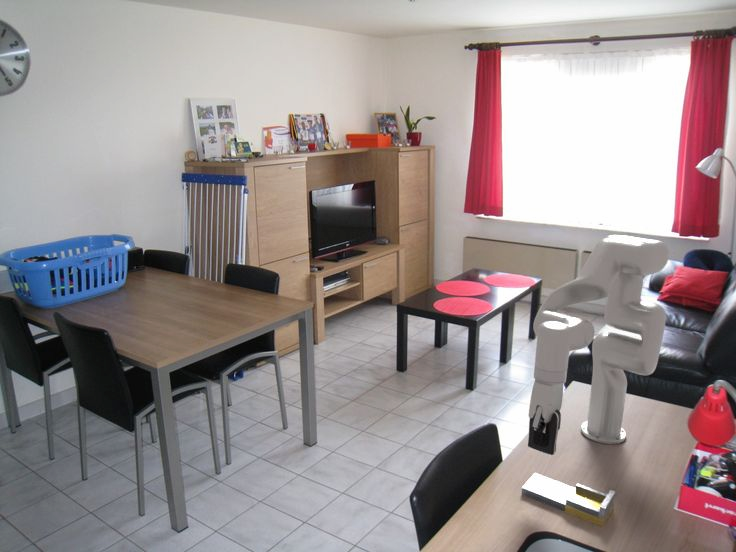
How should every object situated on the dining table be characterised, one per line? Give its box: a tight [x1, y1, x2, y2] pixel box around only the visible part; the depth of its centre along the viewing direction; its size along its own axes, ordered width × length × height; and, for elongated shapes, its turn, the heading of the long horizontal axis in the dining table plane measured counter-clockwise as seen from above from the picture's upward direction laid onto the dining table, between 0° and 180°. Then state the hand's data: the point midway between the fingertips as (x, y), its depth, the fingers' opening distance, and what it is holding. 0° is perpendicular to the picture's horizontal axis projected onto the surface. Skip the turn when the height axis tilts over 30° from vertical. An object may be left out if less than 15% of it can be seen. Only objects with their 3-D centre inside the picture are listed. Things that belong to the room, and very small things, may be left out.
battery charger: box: [527, 409, 562, 456], centre depth 147 cm, size 7×4×11 cm, turn 52°
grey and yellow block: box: [521, 472, 616, 528], centre depth 147 cm, size 8×20×5 cm, turn 52°
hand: (543, 440), depth 148 cm, fingers closed on battery charger, 3 cm apart
